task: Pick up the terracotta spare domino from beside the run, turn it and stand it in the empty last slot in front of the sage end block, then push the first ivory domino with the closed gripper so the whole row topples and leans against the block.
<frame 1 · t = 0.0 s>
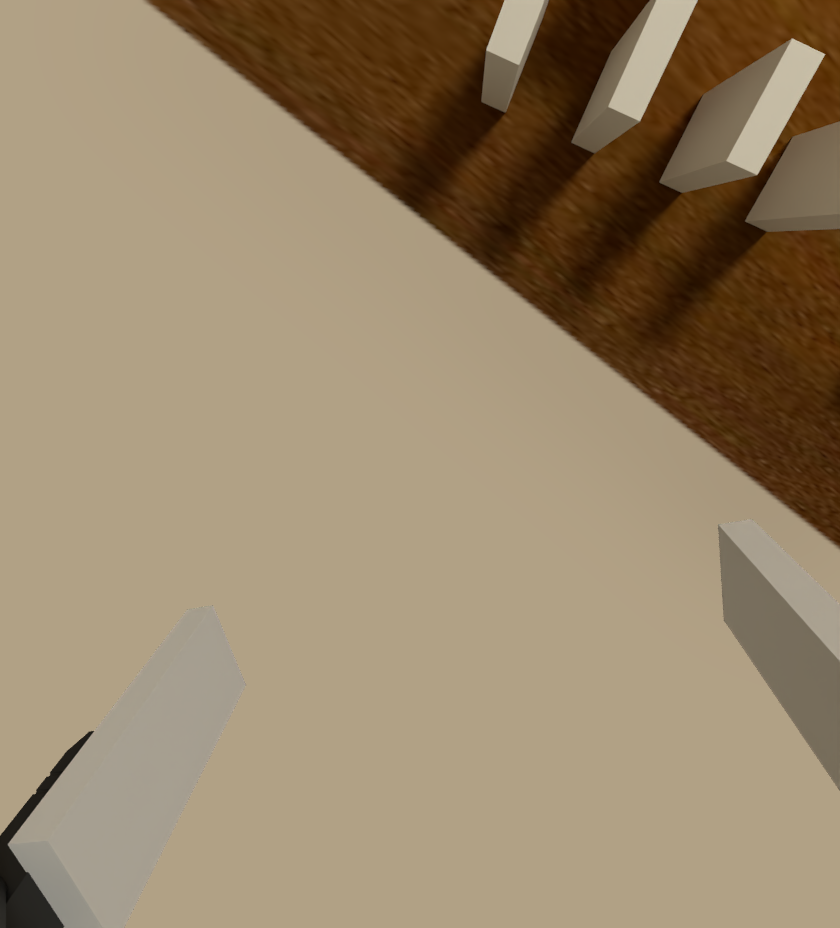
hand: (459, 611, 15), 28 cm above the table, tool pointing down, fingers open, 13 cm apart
domino 1: (510, 61, 34), on the table
domino 4: (779, 185, 35), on the table
domino 2: (602, 103, 34), on the table
domino 3: (692, 145, 35), on the table
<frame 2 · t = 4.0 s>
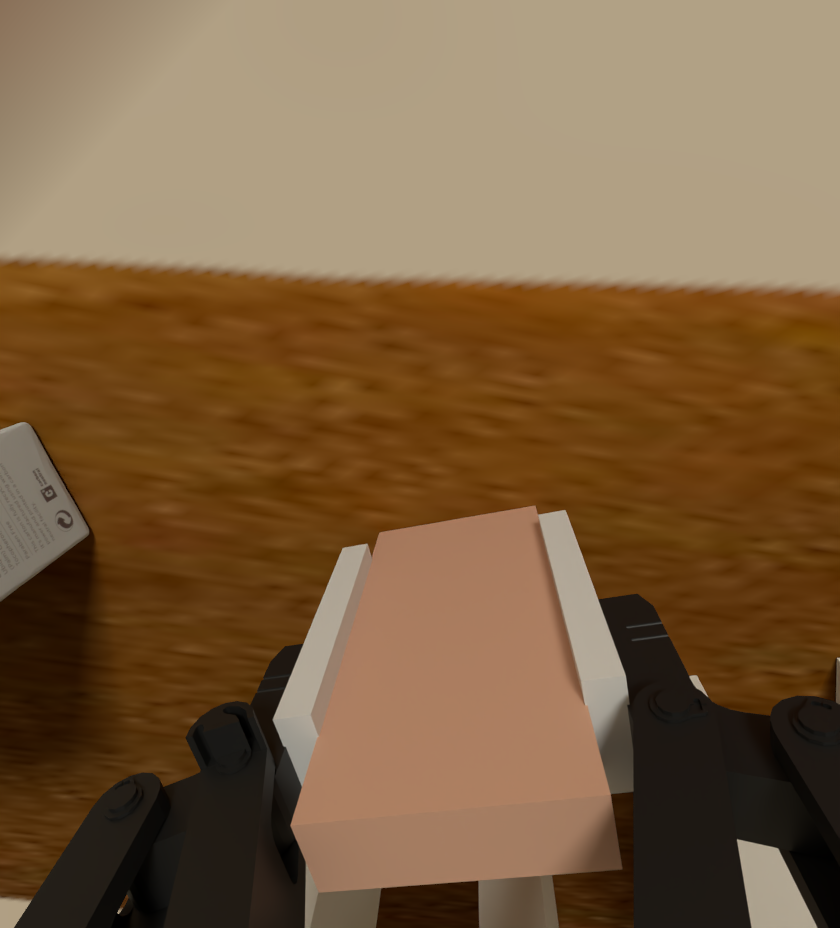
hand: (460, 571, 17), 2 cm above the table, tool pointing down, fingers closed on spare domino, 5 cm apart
domino 1: (355, 768, 22), on the table
domino 2: (509, 752, 21), on the table
domino 3: (677, 733, 20), on the table
spare domino: (460, 541, 18), on the table, touching gripper
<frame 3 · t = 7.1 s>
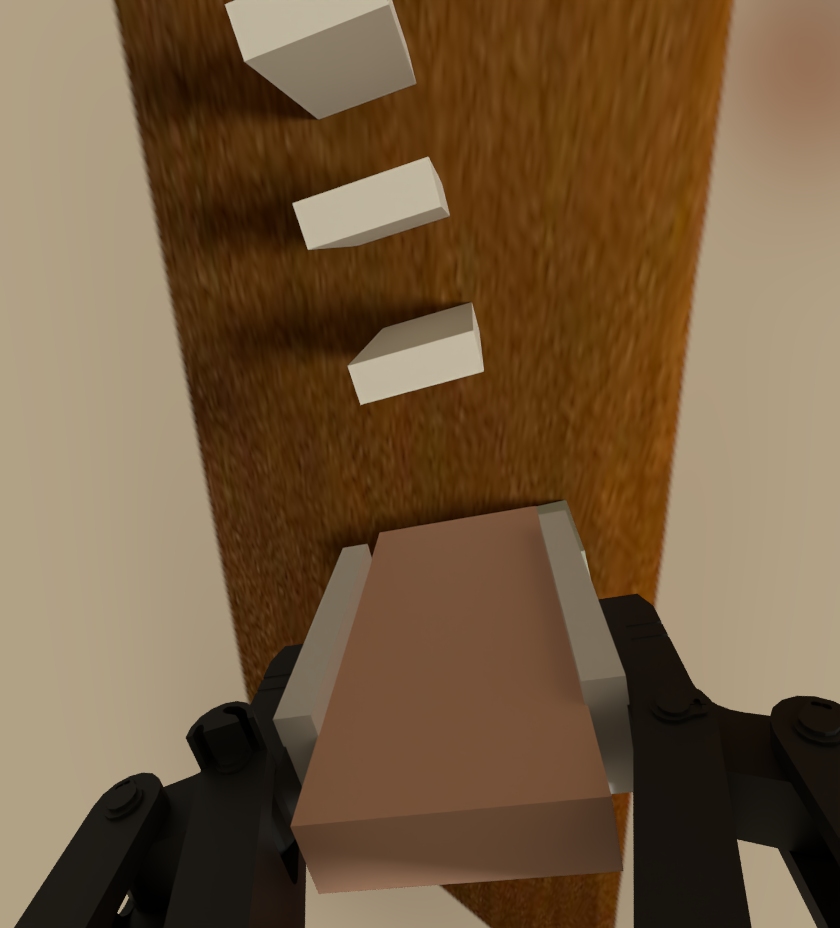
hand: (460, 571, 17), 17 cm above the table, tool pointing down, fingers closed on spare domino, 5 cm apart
domino 4: (430, 329, 31), on the table
end block: (489, 539, 36), on the table
domino 2: (361, 83, 27), on the table
domino 3: (398, 214, 29), on the table
spare domino: (461, 541, 18), point 16 cm above the table, touching gripper
when the fingers open (3 cm above the table, at t = 10.3 s): spare domino drops 1 cm, on the table.
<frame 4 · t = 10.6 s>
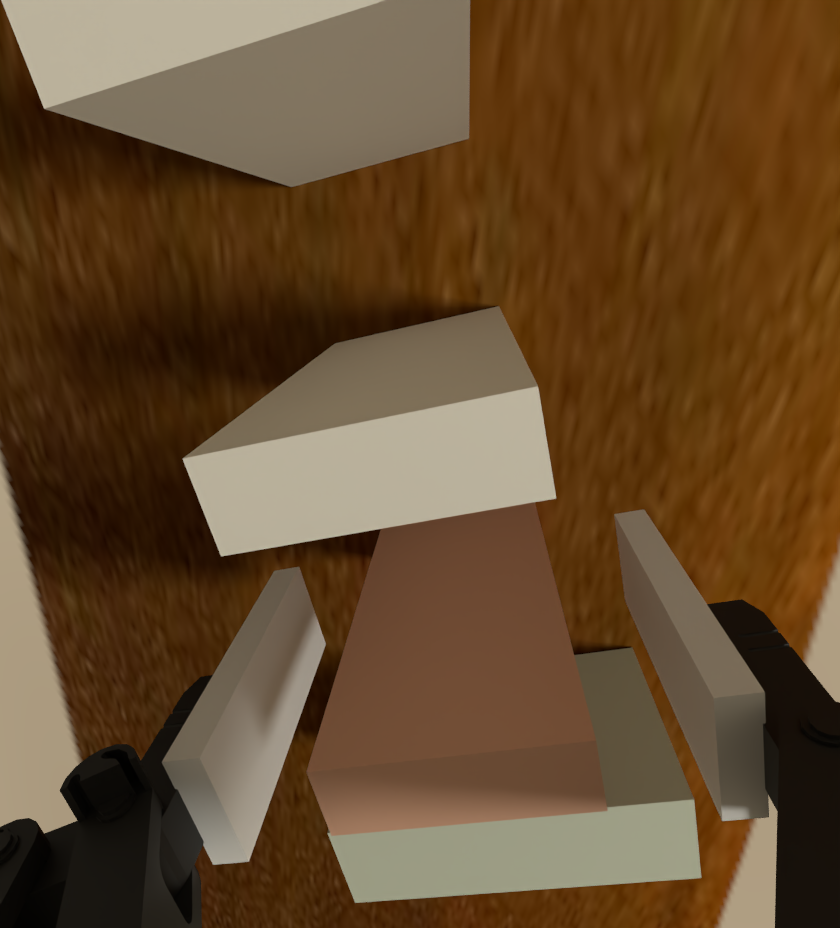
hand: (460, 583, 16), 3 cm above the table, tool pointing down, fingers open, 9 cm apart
domino 4: (421, 351, 17), on the table
end block: (500, 697, 22), on the table
domino 3: (370, 130, 15), on the table
spare domino: (461, 527, 19), on the table
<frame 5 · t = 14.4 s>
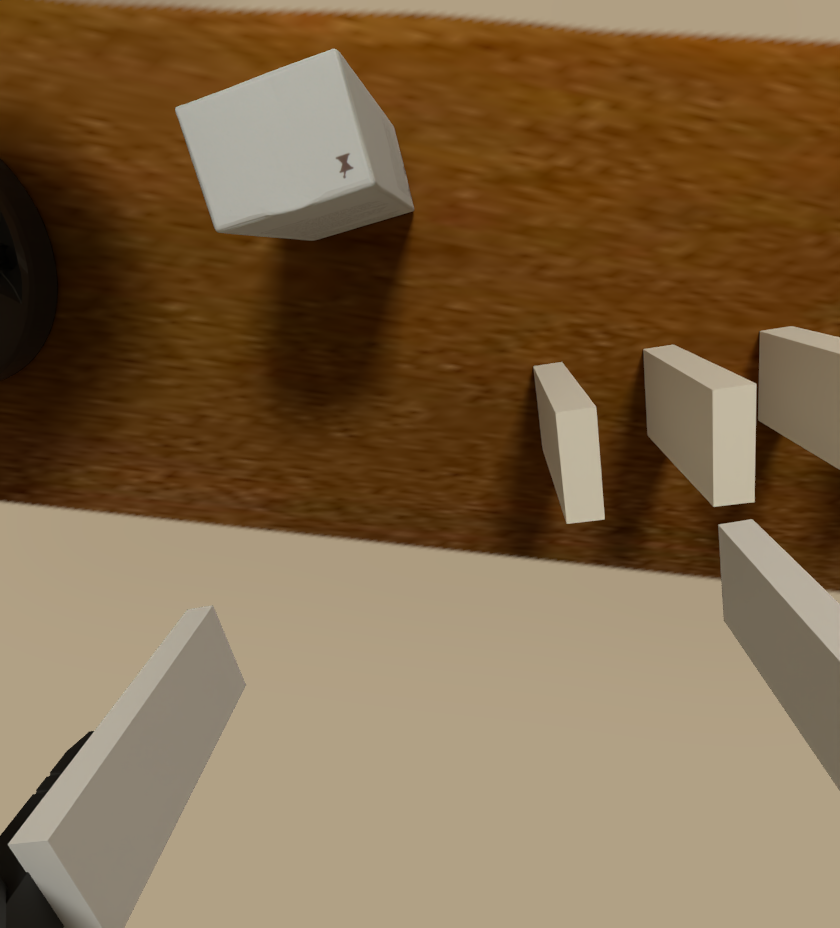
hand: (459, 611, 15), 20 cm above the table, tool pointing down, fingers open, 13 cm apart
domino 1: (551, 406, 33), on the table
domino 2: (660, 391, 32), on the table
domino 3: (774, 374, 31), on the table
skincare box: (350, 186, 30), on the table
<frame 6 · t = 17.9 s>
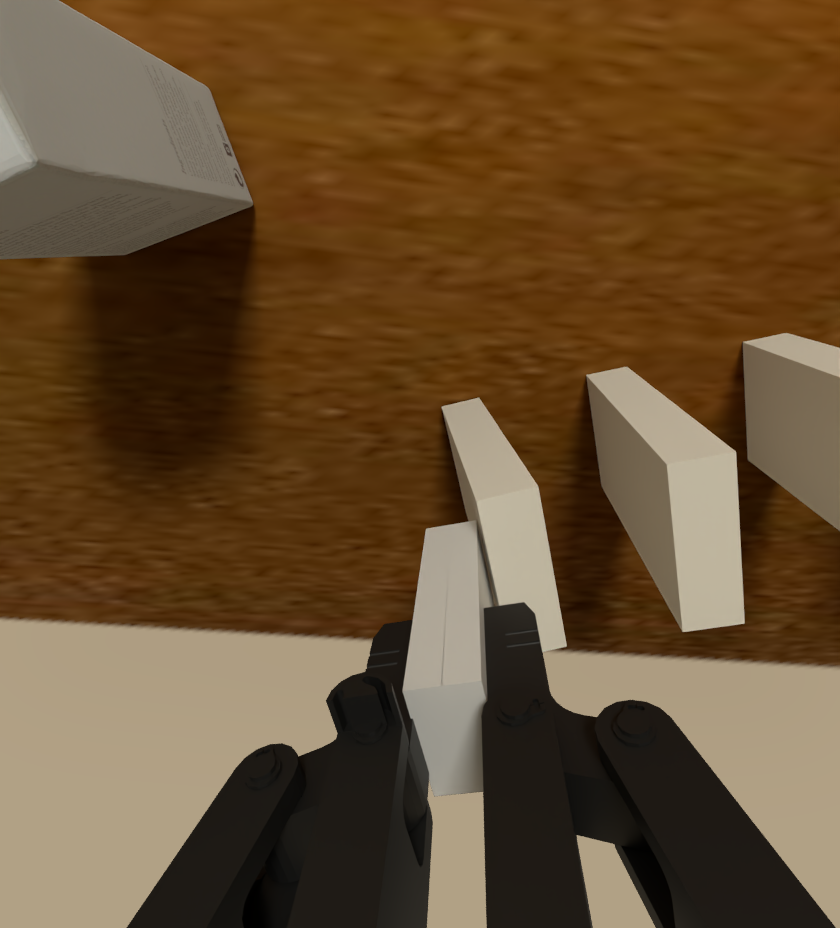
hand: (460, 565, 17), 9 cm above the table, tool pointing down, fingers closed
domino 1: (472, 457, 25), on the table, tilted 7°
domino 2: (613, 428, 24), on the table
domino 3: (766, 399, 23), on the table
skincare box: (165, 176, 22), on the table
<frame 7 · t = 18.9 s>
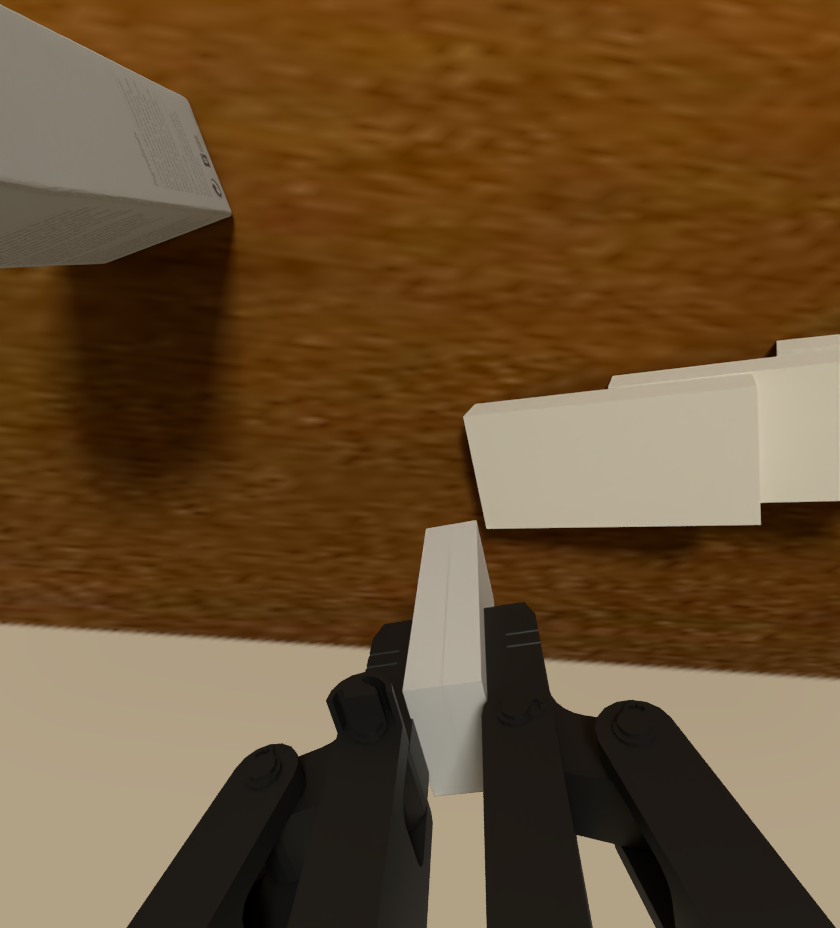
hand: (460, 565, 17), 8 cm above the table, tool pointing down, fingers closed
domino 1: (480, 466, 24), point 1 cm above the table, tilted 72°, touching domino 2
domino 2: (617, 441, 23), point 1 cm above the table, tilted 71°, touching domino 1, domino 3
domino 3: (777, 409, 22), point 1 cm above the table, tilted 65°, touching domino 2, domino 4
skincare box: (145, 185, 22), on the table
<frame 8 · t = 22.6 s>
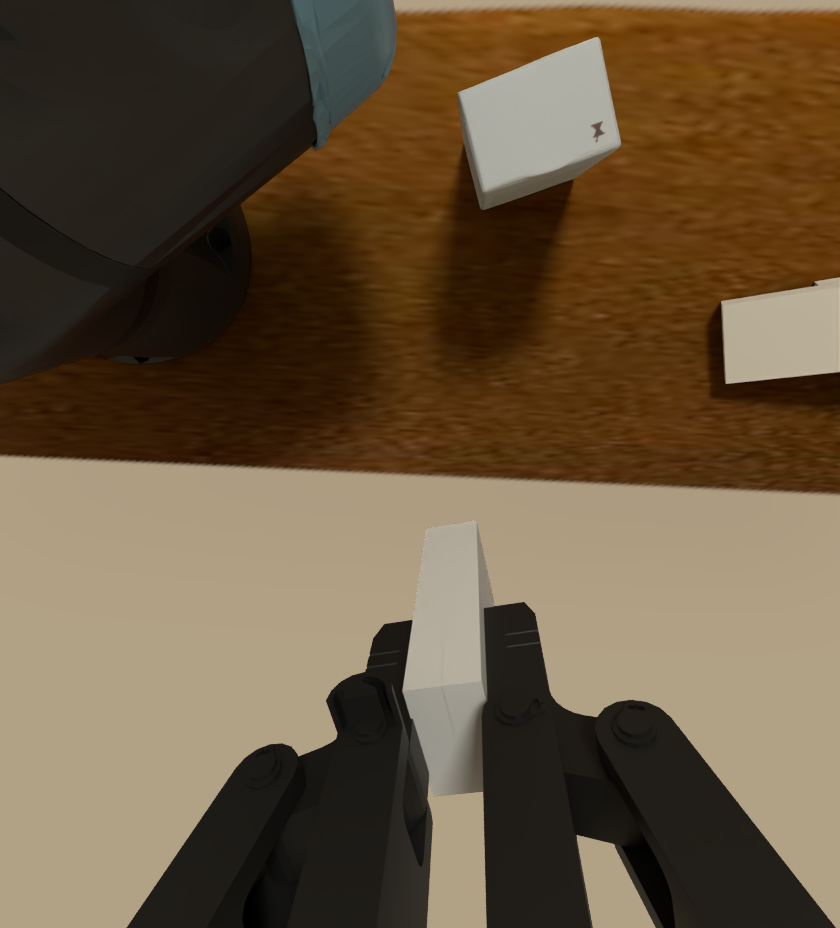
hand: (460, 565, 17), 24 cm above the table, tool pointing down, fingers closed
domino 1: (723, 342, 37), point 1 cm above the table, tilted 72°, touching domino 2
skincare box: (517, 159, 35), on the table
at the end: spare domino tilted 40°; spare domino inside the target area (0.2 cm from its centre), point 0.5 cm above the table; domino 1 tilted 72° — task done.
